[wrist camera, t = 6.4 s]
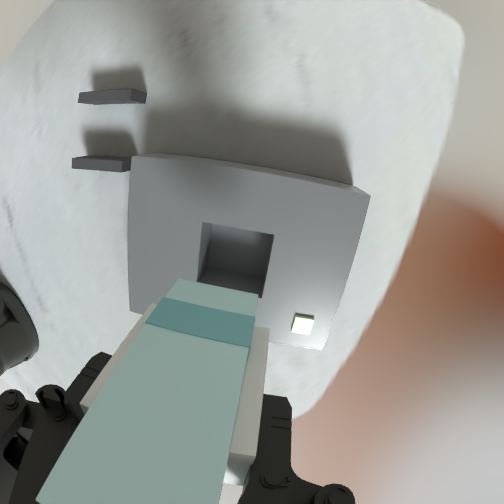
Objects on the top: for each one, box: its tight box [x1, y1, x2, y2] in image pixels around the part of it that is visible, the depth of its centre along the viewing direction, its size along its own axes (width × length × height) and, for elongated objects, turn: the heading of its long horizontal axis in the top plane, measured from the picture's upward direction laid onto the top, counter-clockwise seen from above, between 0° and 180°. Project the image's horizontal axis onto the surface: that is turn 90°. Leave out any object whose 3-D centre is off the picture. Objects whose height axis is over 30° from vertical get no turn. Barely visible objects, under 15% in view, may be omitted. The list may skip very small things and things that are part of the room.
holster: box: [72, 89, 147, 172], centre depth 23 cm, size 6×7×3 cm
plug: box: [36, 278, 258, 504], centre depth 9 cm, size 4×4×12 cm
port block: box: [128, 153, 370, 350], centre depth 24 cm, size 18×14×5 cm
